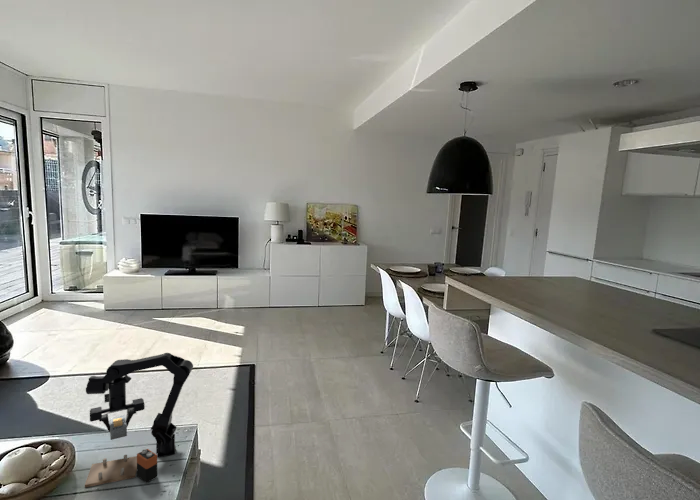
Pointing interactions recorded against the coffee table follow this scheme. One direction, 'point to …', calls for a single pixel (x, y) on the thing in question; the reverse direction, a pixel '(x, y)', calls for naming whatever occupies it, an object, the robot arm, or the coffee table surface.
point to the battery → (146, 465)
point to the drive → (118, 427)
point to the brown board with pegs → (112, 471)
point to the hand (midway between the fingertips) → (118, 429)
